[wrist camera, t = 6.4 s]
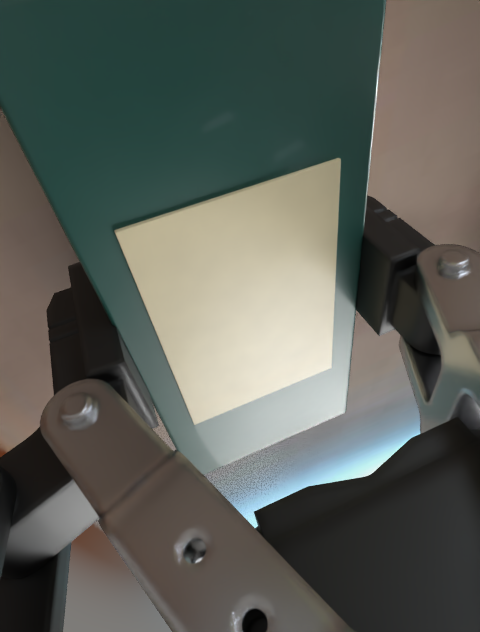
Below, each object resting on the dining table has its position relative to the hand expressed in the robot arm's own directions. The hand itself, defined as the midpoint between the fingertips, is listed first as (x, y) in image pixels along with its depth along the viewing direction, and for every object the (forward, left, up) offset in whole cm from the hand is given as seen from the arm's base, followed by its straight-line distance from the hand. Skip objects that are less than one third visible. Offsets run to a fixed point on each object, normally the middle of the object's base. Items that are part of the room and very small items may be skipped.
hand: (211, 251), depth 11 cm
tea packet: (0, 0, -1) cm, 1 cm away
